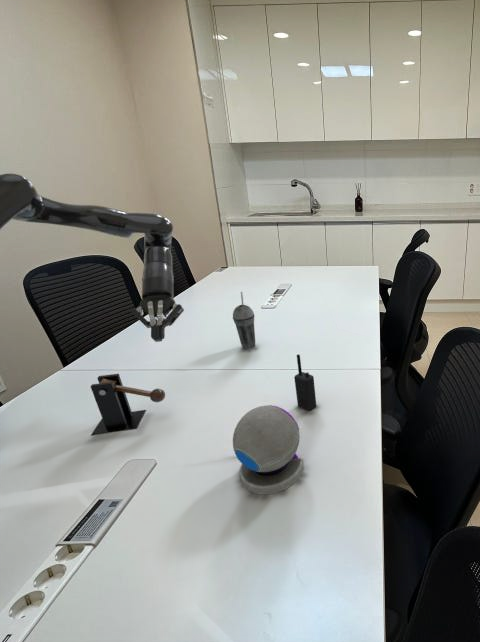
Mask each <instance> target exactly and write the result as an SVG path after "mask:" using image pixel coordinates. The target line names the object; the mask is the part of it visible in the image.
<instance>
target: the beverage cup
mask: <svg viewBox="0 0 480 642" xmlns="http://www.w3.org/2000/svg"><path fill="white" fill-rule="evenodd" d="M240 298H241V304H239V305H237V306H236V307H235V308H234V309H233V312H232V320H233V322H234V324H235V327H236V328H235V329H236V331H237V335H238V338H239V342H240V345H241V348H242V349H243V350H252V349H254V348H256V332H255V313H254V310H253V309H252V308H251V307H250V306H249V305H247V304H245V303H244V294H243V291H240Z"/></svg>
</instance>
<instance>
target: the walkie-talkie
mask: <svg viewBox="0 0 480 642" xmlns="http://www.w3.org/2000/svg"><path fill="white" fill-rule="evenodd" d="M301 361H302V360H301V354H296V362H297V371H298V373H297V374H295V375H294V386H295V394H296V403H297V407H298V408H301V409H302V410H305V411H307V412H311V411H312V410H313V409H315V408H317V397H316V388H315V386H316V385H315V379H314V375H312V374H310V372H304V371H303V370H302V362H301Z"/></svg>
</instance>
